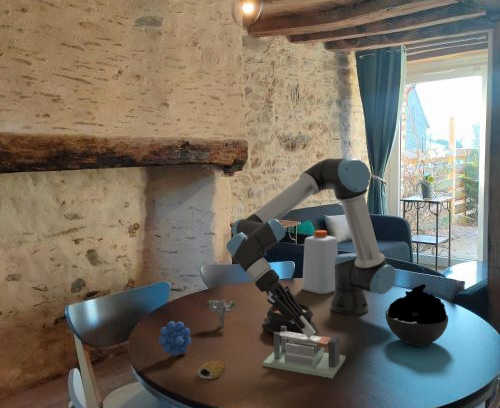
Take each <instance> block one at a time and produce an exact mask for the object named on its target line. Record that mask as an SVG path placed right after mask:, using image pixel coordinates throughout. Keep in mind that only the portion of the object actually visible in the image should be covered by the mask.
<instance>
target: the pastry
mask: <svg viewBox="0 0 500 408" xmlns="http://www.w3.org/2000/svg"><path fill="white" fill-rule="evenodd" d="M225 370H226V363H225V362H223V361H222V360H221V361H220V360H219V359H218V360H217V359H216V360H210V361H205V362H204V363H202V364H201V365H200V366H199V368H198V370H197V371H196V374H197V376H198V378H201V379H206V380H216V379H218V378H219V377H221V376H222V375H223V373H224V372H225Z"/></svg>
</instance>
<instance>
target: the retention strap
mask: <svg viewBox="0 0 500 408" xmlns="http://www.w3.org/2000/svg"><path fill="white" fill-rule="evenodd" d="M317 336H318V335H313V336H311V337H310V338H309V339H308V338H307V336H306V335H305V334H299V333H294V332H288V331H283V330H282V331H281V332H280V340H281V339H286V340H287V341H290V340H292V341H297V342H303V343H308V344H314V345H317V347H323V348H324V349H327V348H328V341H329V340H330V339H331V338H332V336H331V337H330V336H324V335H323V336H320V337H317Z"/></svg>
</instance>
